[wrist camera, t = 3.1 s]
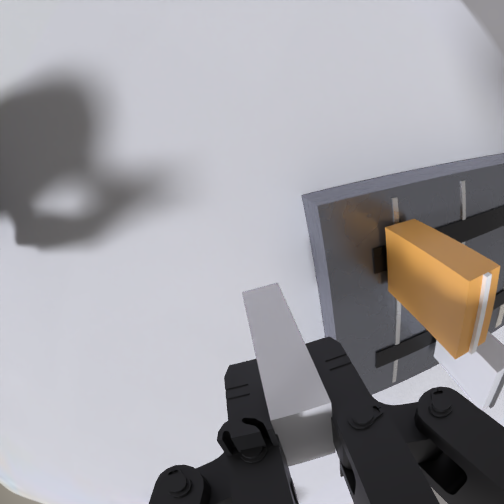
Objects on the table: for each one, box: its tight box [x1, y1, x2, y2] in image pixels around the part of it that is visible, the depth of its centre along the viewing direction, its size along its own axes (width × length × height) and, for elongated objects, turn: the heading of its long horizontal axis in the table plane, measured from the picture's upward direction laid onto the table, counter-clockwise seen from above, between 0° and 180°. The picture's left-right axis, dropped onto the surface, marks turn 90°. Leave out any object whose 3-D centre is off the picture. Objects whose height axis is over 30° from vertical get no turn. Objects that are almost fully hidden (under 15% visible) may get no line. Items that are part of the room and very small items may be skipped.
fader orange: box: [385, 219, 500, 359], centre depth 12 cm, size 4×2×6 cm, turn 14°
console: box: [302, 153, 504, 395], centre depth 17 cm, size 14×20×3 cm
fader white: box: [434, 331, 504, 411], centre depth 14 cm, size 4×2×6 cm, turn 14°
